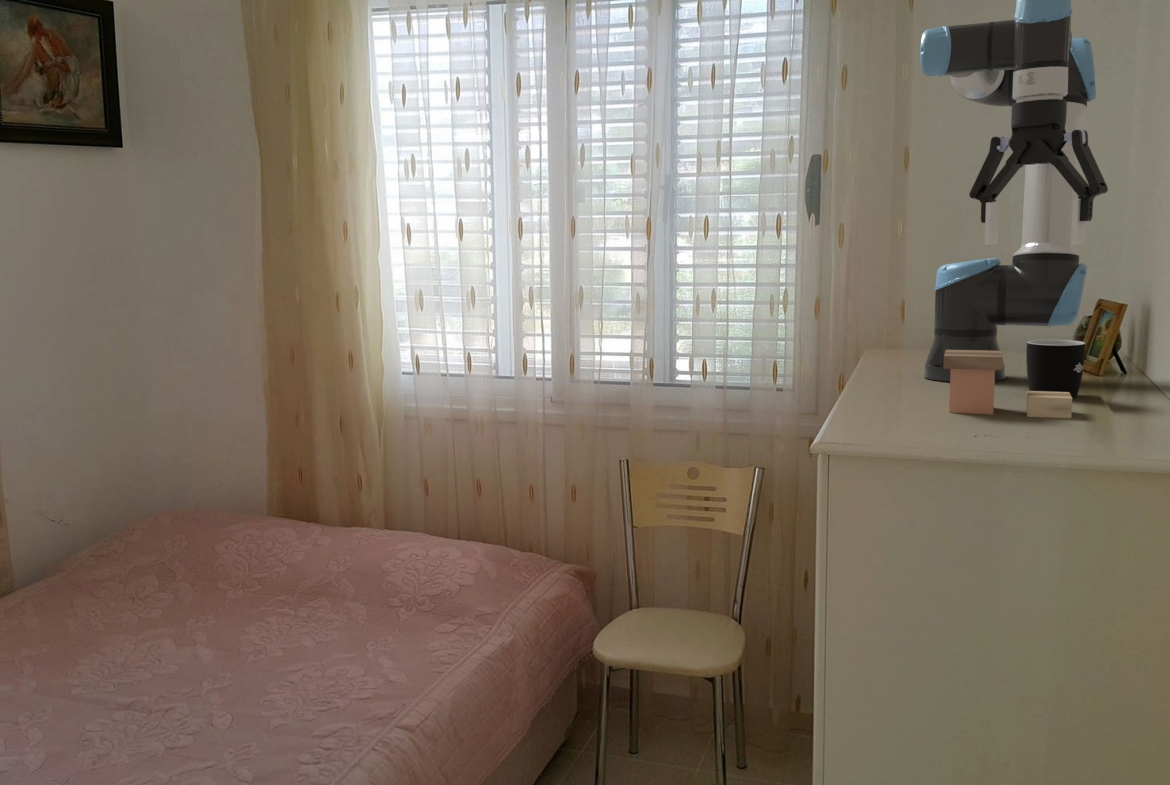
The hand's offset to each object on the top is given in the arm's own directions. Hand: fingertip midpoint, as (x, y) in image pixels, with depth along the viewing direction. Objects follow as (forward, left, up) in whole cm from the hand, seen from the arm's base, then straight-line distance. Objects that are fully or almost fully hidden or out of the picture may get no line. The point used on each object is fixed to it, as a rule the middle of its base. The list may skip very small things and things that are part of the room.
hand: (1033, 244), depth 155 cm
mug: (-18, +5, -27) cm, 33 cm away
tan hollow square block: (+1, -8, -27) cm, 28 cm away
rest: (+2, +3, -27) cm, 27 cm away
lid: (+1, -8, -19) cm, 20 cm away
